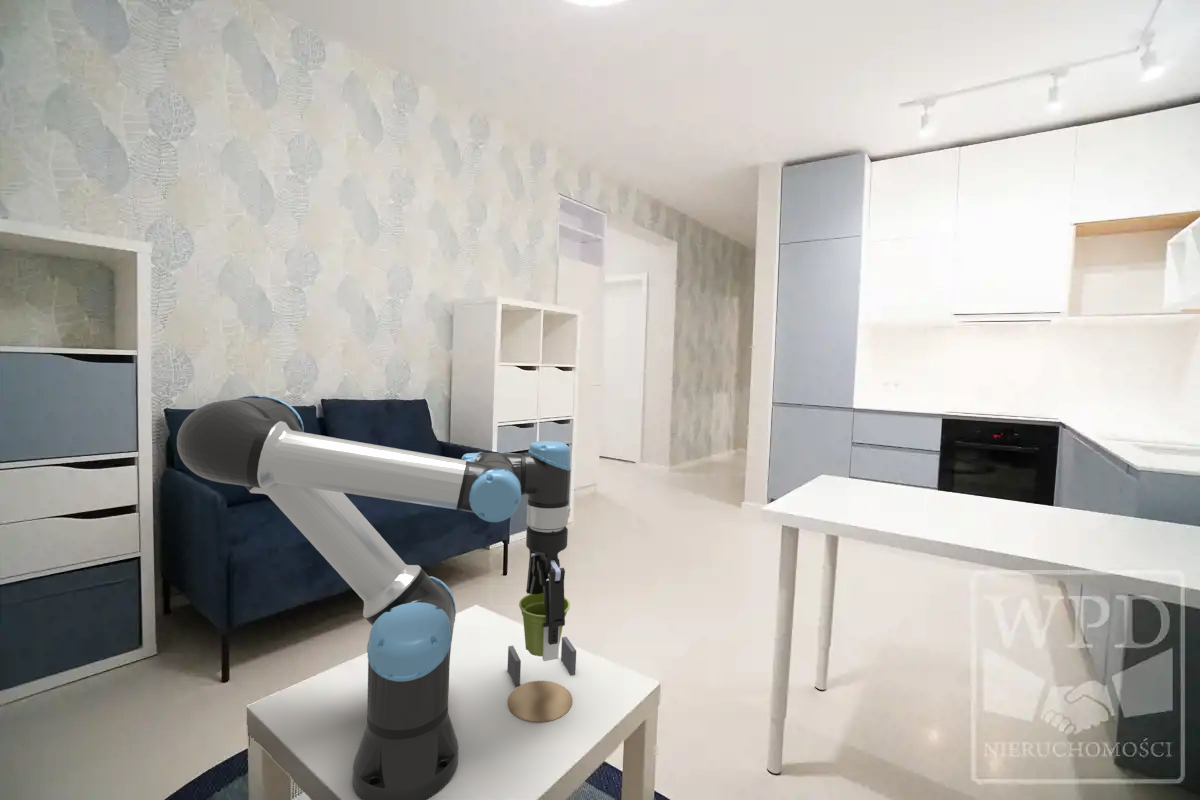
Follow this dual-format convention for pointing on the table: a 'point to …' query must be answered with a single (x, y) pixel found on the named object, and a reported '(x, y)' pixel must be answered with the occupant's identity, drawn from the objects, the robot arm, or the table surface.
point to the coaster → (539, 701)
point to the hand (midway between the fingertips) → (542, 646)
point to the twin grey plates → (566, 657)
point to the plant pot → (536, 621)
